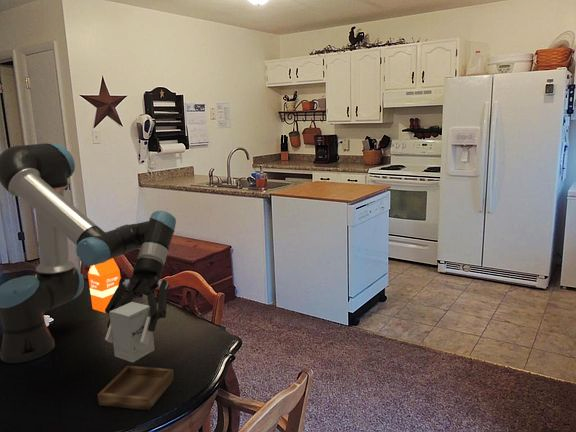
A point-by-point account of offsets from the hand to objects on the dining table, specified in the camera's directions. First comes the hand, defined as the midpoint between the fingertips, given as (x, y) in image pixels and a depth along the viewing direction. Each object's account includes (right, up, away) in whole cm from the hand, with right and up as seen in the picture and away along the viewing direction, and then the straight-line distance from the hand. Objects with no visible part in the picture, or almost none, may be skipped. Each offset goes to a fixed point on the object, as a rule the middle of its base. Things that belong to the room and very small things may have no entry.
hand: (126, 342), depth 115 cm
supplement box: (+1, -4, +4) cm, 6 cm away
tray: (+1, -15, +6) cm, 16 cm away
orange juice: (-30, -4, +64) cm, 71 cm away
